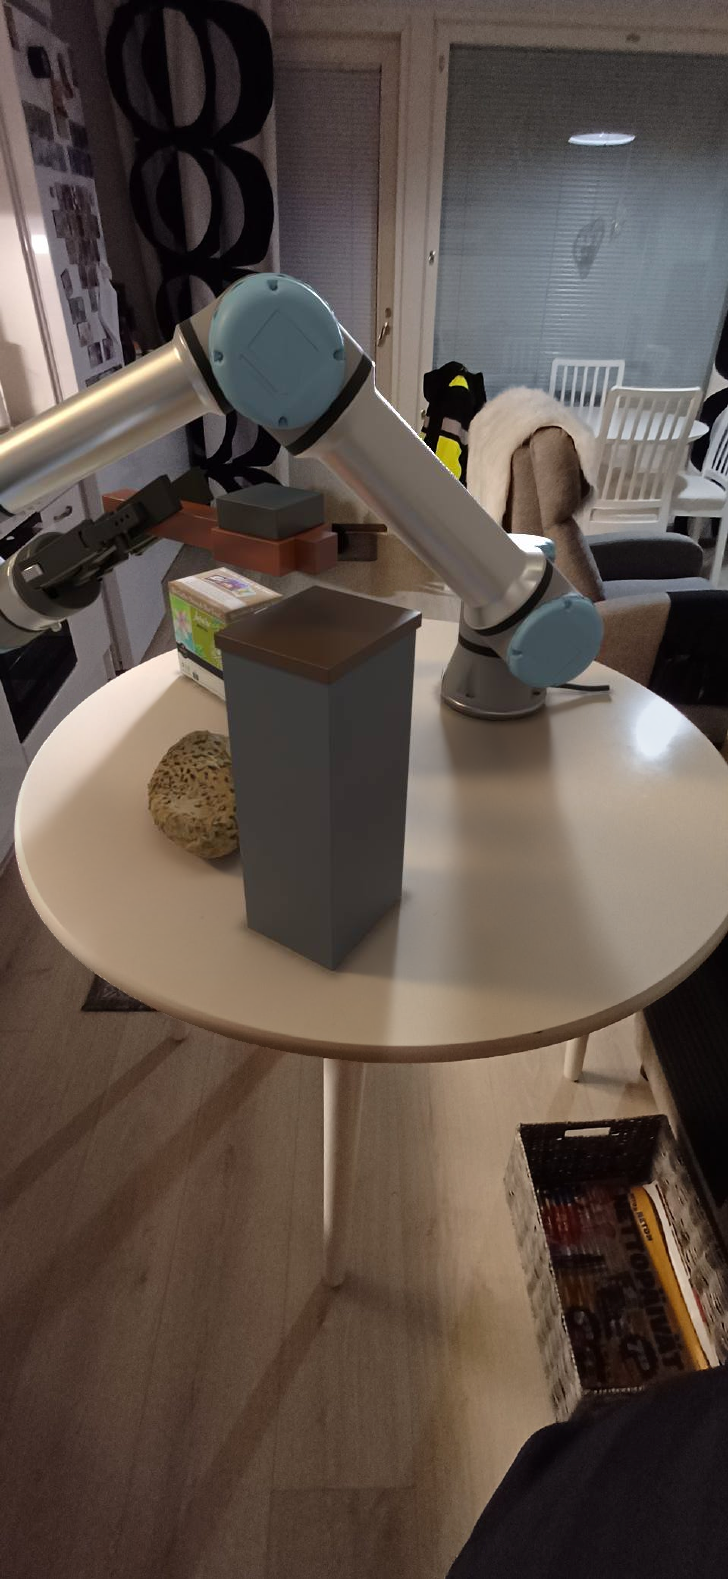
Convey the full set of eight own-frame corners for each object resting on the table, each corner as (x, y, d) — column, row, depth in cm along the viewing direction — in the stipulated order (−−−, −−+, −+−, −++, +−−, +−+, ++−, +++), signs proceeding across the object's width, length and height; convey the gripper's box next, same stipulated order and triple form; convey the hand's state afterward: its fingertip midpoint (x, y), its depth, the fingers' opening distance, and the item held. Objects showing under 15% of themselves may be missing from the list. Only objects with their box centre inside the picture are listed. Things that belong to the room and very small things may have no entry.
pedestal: (242, 927, 74) (212, 633, 57) (320, 857, 83) (314, 584, 66) (333, 974, 70) (329, 669, 53) (405, 895, 78) (422, 612, 61)
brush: (88, 529, 64) (78, 470, 62) (146, 512, 69) (138, 457, 66) (300, 582, 55) (298, 515, 52) (351, 559, 59) (352, 496, 56)
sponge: (173, 775, 98) (108, 846, 80) (181, 718, 95) (115, 777, 77) (274, 801, 98) (232, 877, 79) (285, 744, 95) (244, 810, 76)
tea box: (177, 673, 119) (164, 579, 110) (232, 655, 124) (224, 564, 116) (233, 709, 110) (224, 609, 101) (290, 688, 115) (286, 592, 107)
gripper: (129, 594, 83) (273, 512, 67) (-2, 644, 72) (134, 560, 56) (94, 526, 81) (234, 425, 65) (-46, 566, 70) (82, 457, 54)
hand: (187, 487), depth 61 cm, fingers closed on brush, 3 cm apart
